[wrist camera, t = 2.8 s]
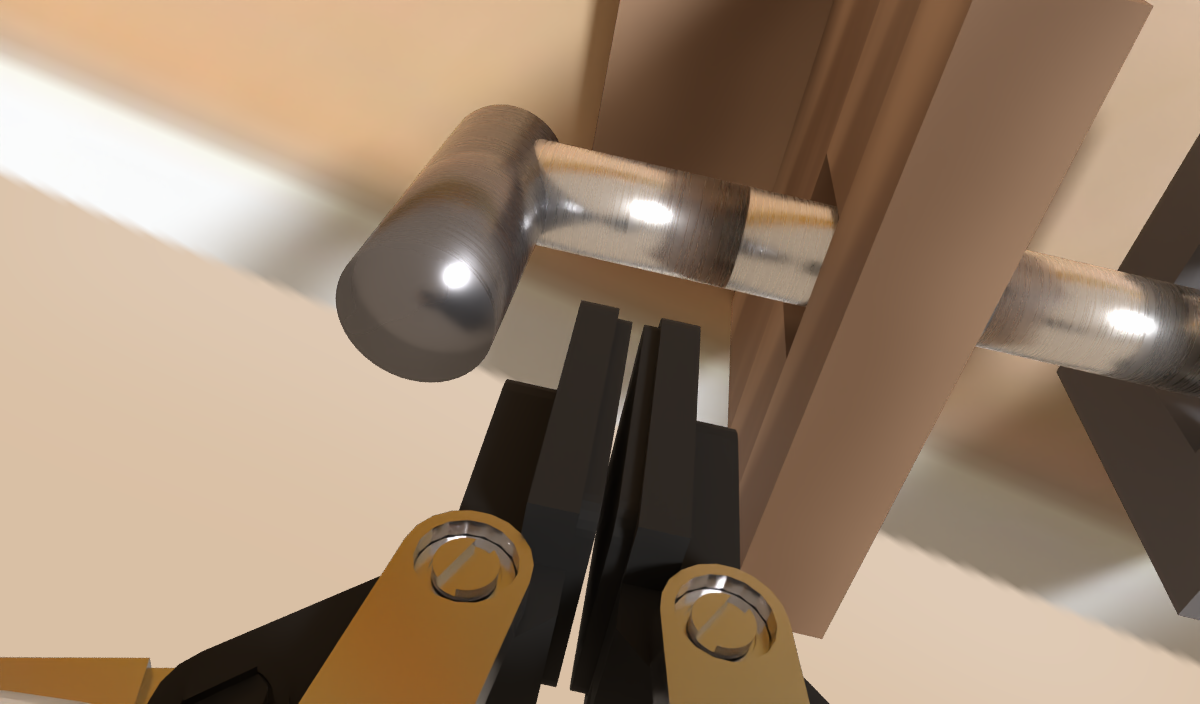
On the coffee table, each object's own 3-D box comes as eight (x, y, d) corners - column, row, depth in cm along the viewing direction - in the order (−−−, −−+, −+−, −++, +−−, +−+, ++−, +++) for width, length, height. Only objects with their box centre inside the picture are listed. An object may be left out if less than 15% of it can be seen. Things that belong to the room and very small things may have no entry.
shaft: (1482, 327, 17) (1781, 560, 12) (1396, 421, 18) (1632, 664, 13) (454, 92, 17) (336, 226, 12) (444, 203, 19) (334, 362, 14)
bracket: (955, -115, 20) (1153, 6, 10) (795, 317, 27) (822, 638, 17) (657, -183, 20) (569, -126, 10) (573, 266, 27) (472, 556, 17)
